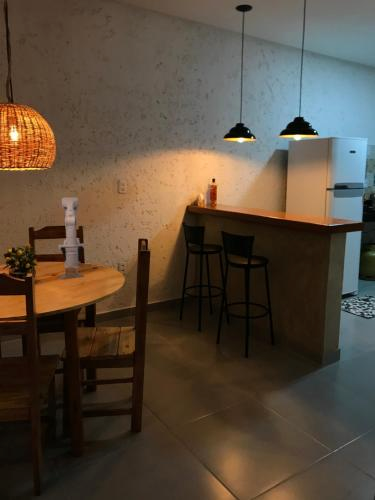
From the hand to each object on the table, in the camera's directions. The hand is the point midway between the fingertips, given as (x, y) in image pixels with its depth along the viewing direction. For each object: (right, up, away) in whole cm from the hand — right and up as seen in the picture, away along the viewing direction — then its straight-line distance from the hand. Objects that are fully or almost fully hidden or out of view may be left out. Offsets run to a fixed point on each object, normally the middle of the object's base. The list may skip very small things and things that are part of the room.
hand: (72, 259), depth 239 cm
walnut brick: (+1, -9, -5) cm, 10 cm away
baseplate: (+1, -9, -5) cm, 11 cm away
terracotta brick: (0, -8, +3) cm, 8 cm away
